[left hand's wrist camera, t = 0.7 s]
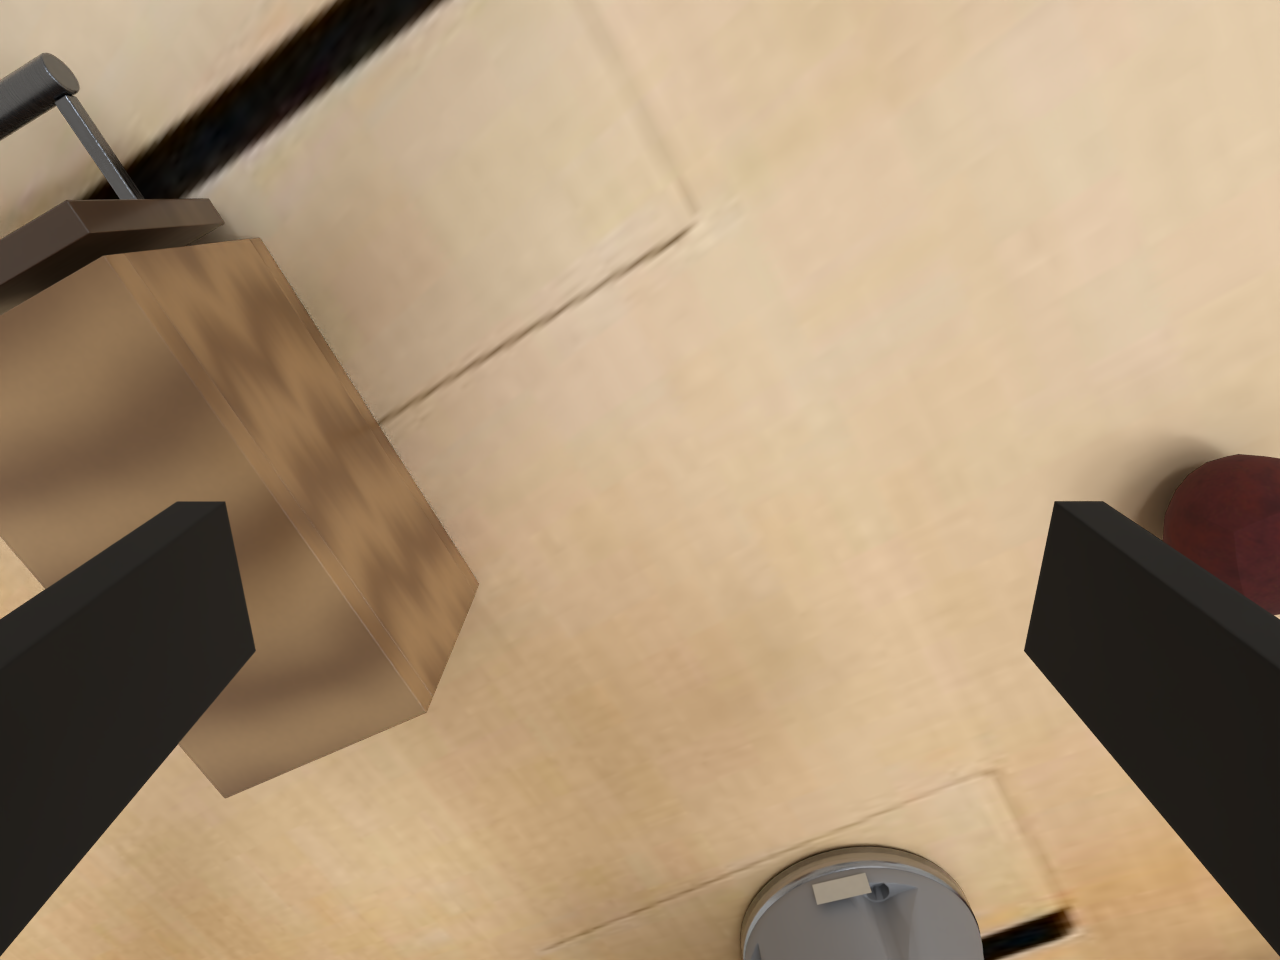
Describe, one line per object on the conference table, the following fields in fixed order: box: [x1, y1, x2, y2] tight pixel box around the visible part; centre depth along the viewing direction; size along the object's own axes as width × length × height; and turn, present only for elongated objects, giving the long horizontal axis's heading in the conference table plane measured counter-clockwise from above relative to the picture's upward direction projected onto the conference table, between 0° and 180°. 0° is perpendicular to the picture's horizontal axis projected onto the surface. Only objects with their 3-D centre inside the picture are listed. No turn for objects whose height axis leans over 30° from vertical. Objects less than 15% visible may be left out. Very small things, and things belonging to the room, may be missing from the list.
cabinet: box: [0, 238, 479, 798], centre depth 35 cm, size 20×10×11 cm, turn 26°
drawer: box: [0, 53, 224, 315], centre depth 33 cm, size 25×9×9 cm, turn 26°
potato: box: [1163, 454, 1280, 615], centre depth 37 cm, size 7×8×7 cm
